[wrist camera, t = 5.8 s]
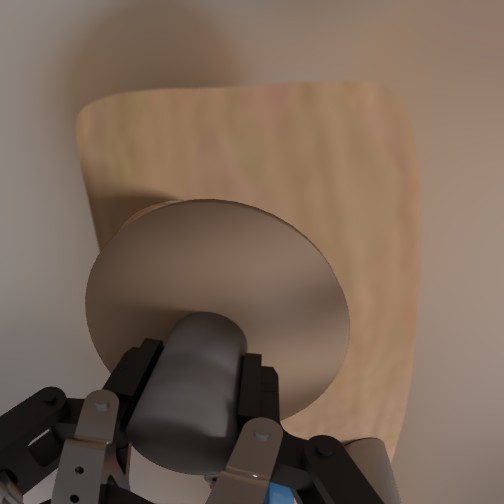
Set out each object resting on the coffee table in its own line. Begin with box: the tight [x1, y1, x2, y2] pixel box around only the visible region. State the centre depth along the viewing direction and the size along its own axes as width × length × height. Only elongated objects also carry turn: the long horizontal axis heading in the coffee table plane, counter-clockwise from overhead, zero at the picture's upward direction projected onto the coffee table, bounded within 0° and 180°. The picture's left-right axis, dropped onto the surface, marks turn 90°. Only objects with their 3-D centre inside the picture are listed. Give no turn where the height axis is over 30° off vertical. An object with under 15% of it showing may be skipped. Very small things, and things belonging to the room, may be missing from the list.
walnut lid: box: [85, 199, 350, 475], centre depth 11 cm, size 13×13×7 cm
